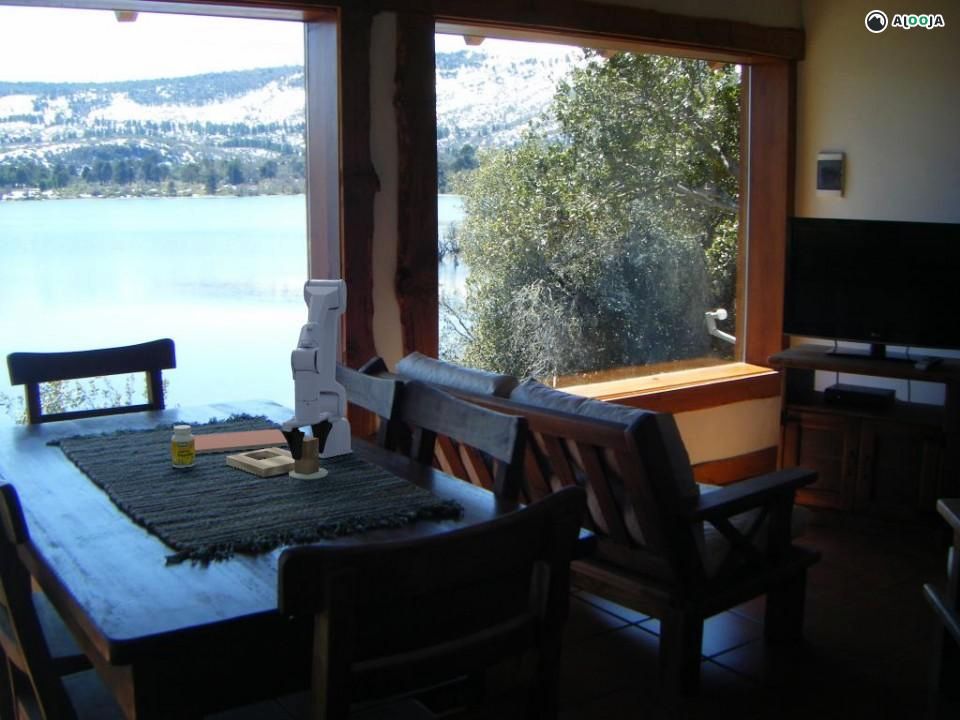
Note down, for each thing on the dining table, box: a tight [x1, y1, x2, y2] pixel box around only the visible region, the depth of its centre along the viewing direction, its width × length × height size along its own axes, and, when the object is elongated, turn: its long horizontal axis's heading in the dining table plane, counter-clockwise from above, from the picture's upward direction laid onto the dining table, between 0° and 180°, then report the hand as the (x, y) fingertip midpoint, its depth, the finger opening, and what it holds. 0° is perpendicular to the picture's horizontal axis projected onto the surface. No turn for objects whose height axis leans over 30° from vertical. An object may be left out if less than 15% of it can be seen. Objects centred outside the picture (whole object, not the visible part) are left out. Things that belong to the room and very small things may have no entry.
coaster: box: [288, 467, 329, 481], centre depth 246 cm, size 9×9×1 cm
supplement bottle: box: [171, 424, 196, 469], centre depth 252 cm, size 5×5×10 cm
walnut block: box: [294, 435, 320, 475], centre depth 245 cm, size 4×4×8 cm
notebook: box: [192, 428, 289, 455], centre depth 275 cm, size 27×17×2 cm, turn 114°
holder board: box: [225, 447, 295, 478], centre depth 253 cm, size 14×16×2 cm
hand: (308, 456), depth 245 cm, fingers open, 7 cm apart
